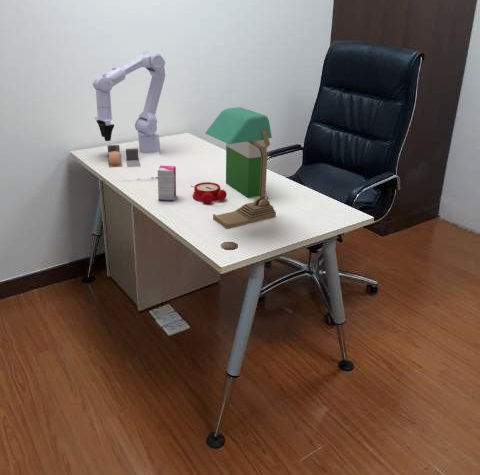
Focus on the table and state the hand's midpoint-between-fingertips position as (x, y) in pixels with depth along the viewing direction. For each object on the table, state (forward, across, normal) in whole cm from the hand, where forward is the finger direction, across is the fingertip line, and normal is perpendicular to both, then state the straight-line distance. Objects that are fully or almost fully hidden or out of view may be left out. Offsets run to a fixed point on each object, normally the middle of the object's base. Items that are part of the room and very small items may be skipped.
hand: (106, 138), depth 212 cm
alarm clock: (+10, +58, +26) cm, 64 cm away
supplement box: (+10, +52, +12) cm, 54 cm away
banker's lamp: (+10, +79, +29) cm, 84 cm away
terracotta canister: (+9, +10, +1) cm, 13 cm away
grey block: (+10, +10, +9) cm, 17 cm away
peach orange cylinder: (+10, +5, +2) cm, 11 cm away
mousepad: (+10, +31, +17) cm, 37 cm away
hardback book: (+9, +53, +42) cm, 68 cm away
